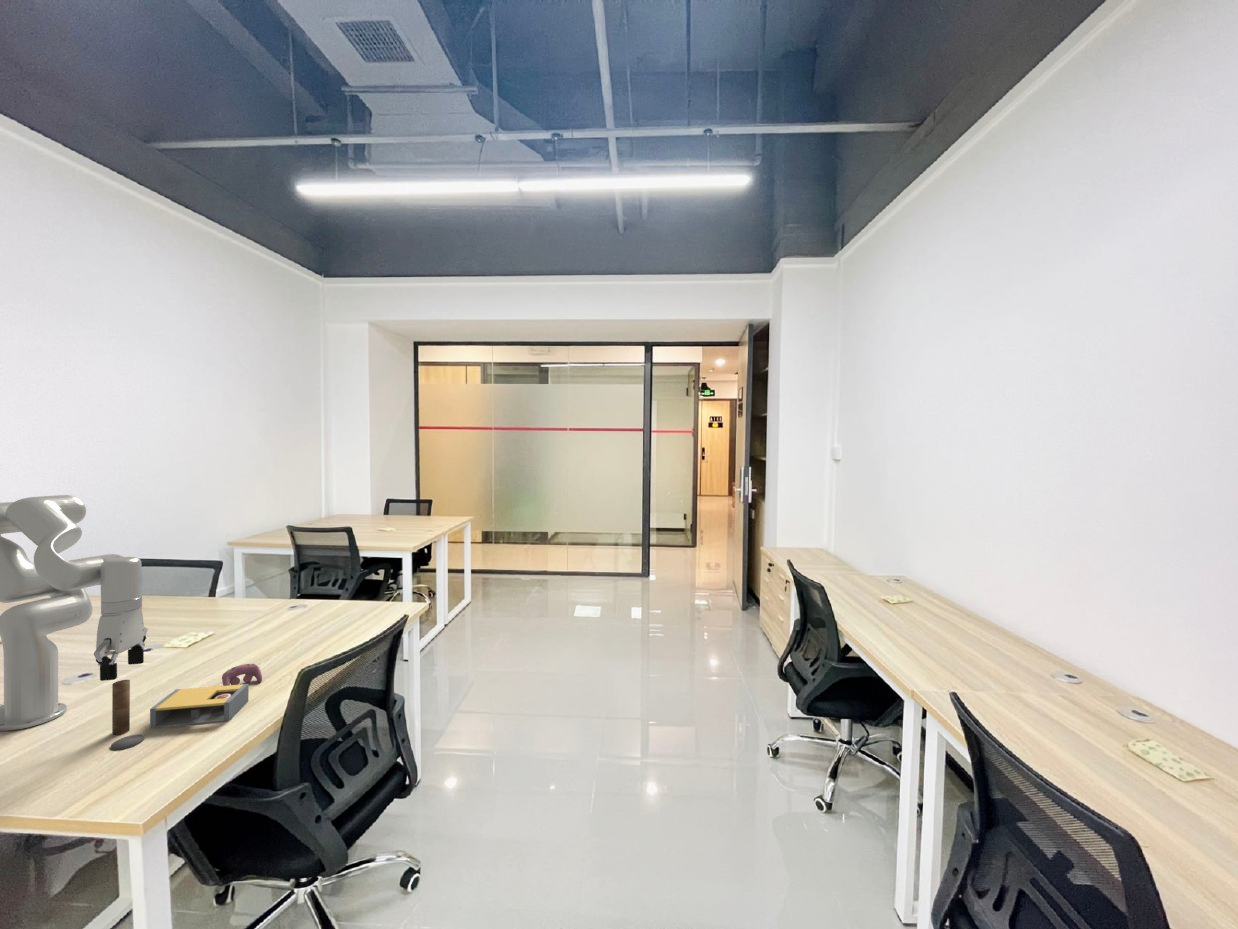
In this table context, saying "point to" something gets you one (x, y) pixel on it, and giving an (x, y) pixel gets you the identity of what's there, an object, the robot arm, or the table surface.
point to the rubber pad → (127, 742)
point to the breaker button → (223, 696)
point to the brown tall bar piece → (120, 707)
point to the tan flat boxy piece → (198, 706)
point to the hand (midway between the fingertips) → (122, 671)
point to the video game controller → (246, 669)
